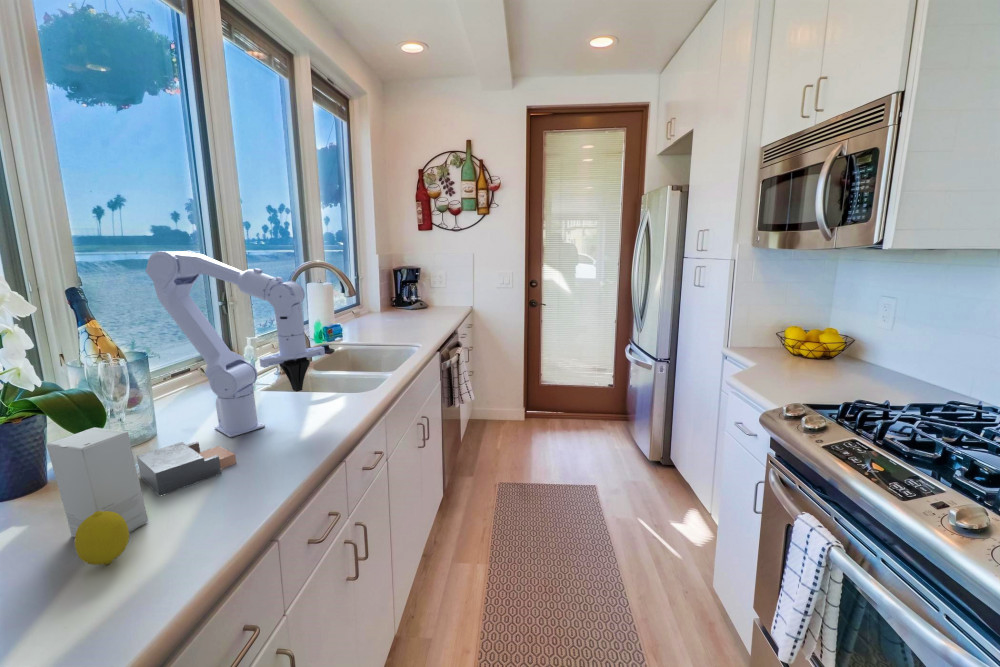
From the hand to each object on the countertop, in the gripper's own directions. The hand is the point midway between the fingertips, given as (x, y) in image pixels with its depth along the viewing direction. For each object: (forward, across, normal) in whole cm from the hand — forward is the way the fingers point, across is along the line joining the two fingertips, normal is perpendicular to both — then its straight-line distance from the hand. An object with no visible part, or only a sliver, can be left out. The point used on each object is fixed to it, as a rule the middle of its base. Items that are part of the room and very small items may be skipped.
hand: (297, 390), depth 107 cm
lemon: (+10, -41, -25) cm, 49 cm away
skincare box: (+10, -39, -15) cm, 43 cm away
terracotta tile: (+10, -24, -4) cm, 26 cm away
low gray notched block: (+9, -25, -4) cm, 27 cm away
